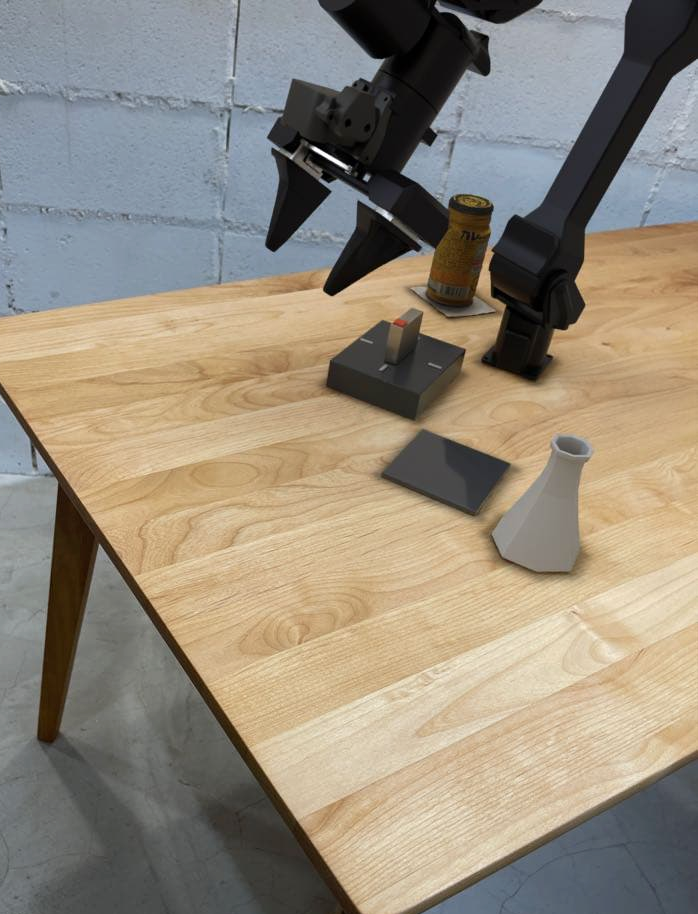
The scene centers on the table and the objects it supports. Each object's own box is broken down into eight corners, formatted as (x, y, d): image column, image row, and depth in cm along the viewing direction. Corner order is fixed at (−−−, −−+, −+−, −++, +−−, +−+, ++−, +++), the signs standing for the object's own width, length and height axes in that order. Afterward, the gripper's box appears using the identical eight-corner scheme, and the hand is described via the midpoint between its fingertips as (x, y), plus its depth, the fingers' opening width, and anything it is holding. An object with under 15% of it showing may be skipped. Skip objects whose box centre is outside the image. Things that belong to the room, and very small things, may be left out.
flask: (581, 583, 66) (626, 481, 59) (489, 564, 67) (524, 461, 60) (576, 527, 71) (617, 428, 65) (491, 510, 72) (524, 411, 66)
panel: (377, 344, 93) (382, 318, 91) (460, 374, 90) (467, 347, 88) (325, 386, 85) (329, 358, 83) (414, 421, 82) (420, 392, 80)
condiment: (456, 283, 109) (479, 188, 101) (495, 312, 103) (522, 214, 95) (409, 289, 106) (429, 192, 98) (446, 319, 100) (470, 218, 93)
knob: (404, 343, 88) (412, 305, 85) (416, 347, 87) (424, 309, 84) (383, 360, 84) (390, 321, 81) (395, 365, 84) (403, 326, 81)
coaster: (421, 433, 80) (422, 428, 80) (510, 467, 77) (511, 463, 77) (380, 476, 74) (381, 472, 74) (474, 516, 71) (476, 511, 71)
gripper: (276, 2, 65) (174, 185, 70) (424, 62, 53) (291, 276, 58) (362, 85, 73) (266, 244, 78) (506, 152, 62) (383, 334, 66)
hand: (296, 270), depth 70 cm, fingers open, 9 cm apart
